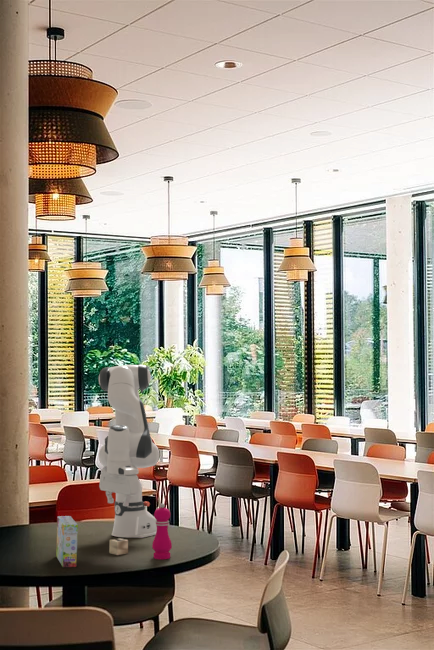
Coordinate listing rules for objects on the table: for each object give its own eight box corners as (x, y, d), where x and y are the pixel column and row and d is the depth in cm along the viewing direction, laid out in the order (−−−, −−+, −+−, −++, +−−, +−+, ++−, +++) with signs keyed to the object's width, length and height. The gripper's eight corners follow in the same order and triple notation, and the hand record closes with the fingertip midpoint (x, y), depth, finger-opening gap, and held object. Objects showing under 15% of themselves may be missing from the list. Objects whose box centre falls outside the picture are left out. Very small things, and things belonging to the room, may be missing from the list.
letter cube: (120, 551, 350) (120, 537, 350) (127, 553, 346) (128, 539, 347) (109, 553, 347) (109, 539, 347) (117, 555, 343) (117, 541, 343)
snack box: (78, 567, 321) (78, 524, 322) (62, 568, 319) (62, 524, 320) (70, 555, 341) (70, 515, 342) (55, 556, 340) (55, 515, 341)
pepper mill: (156, 560, 333) (157, 505, 334) (149, 556, 339) (149, 502, 340) (174, 558, 336) (175, 504, 337) (166, 555, 343) (167, 501, 344)
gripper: (95, 466, 354) (95, 502, 353) (128, 471, 339) (127, 508, 338) (108, 465, 358) (108, 500, 358) (141, 470, 343) (141, 506, 343)
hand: (118, 504), depth 348 cm, fingers open, 8 cm apart
